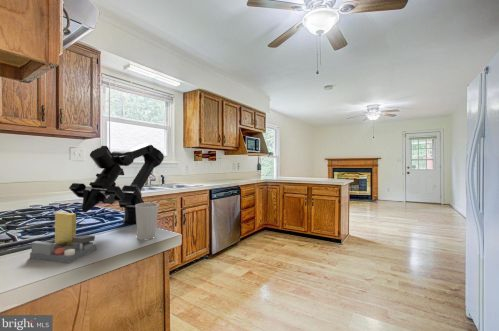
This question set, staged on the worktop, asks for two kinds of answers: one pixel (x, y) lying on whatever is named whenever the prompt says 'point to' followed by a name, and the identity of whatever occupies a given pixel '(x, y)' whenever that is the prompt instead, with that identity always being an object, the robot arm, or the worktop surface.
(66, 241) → the yellow flat block
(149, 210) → the cup
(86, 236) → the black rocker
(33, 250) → the console
